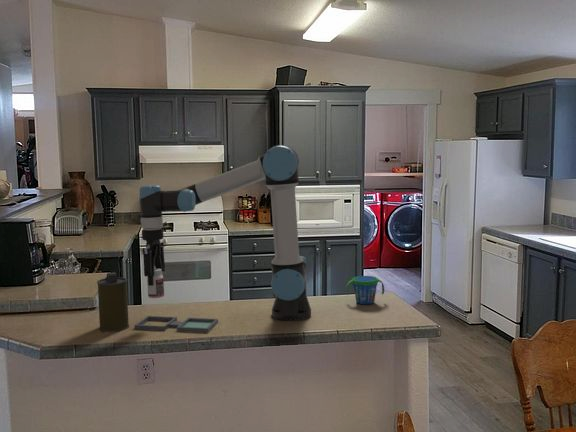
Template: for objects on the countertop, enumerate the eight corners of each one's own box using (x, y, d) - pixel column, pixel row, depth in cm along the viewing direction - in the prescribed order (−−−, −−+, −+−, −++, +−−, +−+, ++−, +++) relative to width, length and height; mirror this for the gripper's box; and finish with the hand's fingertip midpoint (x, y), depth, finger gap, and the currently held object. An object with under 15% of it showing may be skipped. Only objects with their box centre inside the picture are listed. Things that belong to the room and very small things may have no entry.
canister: (132, 328, 207) (130, 274, 204) (102, 333, 202) (99, 277, 199) (125, 321, 216) (122, 268, 214) (96, 325, 211) (93, 272, 209)
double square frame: (218, 322, 213) (218, 318, 213) (208, 332, 202) (208, 328, 201) (147, 319, 218) (147, 315, 218) (134, 328, 207) (134, 325, 206)
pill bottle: (160, 298, 207) (158, 271, 205) (145, 298, 208) (143, 271, 206) (166, 294, 212) (165, 268, 211) (152, 294, 213) (150, 268, 212)
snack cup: (346, 305, 233) (346, 281, 232) (345, 299, 244) (345, 275, 243) (385, 306, 232) (385, 281, 231) (383, 299, 242) (383, 275, 241)
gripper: (153, 225, 217) (156, 285, 219) (130, 232, 198) (135, 298, 201) (172, 224, 215) (175, 285, 218) (151, 232, 197) (155, 298, 200)
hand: (156, 291), depth 210 cm, fingers closed on pill bottle, 6 cm apart
